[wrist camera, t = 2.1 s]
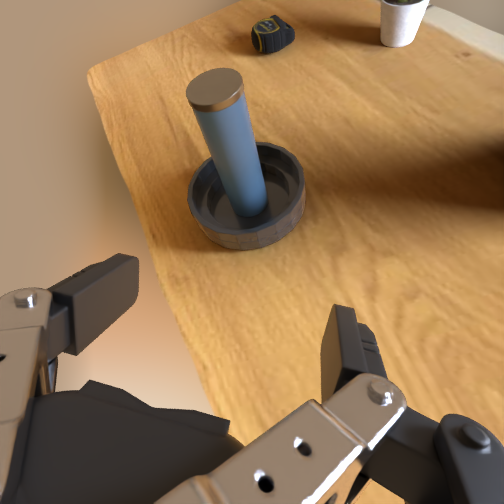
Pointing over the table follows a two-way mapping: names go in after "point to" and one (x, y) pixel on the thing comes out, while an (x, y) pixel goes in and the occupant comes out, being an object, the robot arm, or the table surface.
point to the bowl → (256, 227)
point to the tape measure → (271, 35)
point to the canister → (229, 137)
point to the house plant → (400, 21)
